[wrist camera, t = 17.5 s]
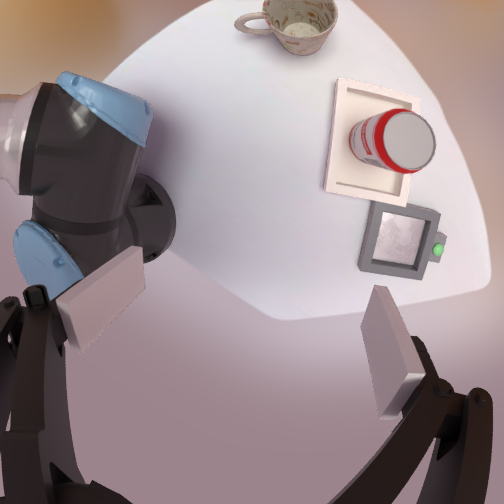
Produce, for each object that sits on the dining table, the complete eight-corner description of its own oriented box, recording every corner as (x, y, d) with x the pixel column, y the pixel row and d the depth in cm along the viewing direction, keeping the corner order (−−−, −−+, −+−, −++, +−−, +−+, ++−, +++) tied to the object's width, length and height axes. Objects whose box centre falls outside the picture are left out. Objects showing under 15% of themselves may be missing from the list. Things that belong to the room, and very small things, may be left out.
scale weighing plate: (371, 256, 40) (372, 258, 39) (381, 210, 37) (383, 211, 36) (411, 263, 39) (413, 265, 38) (423, 219, 36) (425, 220, 36)
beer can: (341, 153, 35) (367, 158, 21) (355, 113, 33) (389, 92, 18) (381, 171, 35) (428, 189, 20) (395, 131, 32) (449, 126, 18)
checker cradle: (357, 264, 41) (360, 271, 39) (372, 196, 37) (376, 199, 35) (428, 276, 39) (434, 283, 37) (446, 213, 35) (454, 217, 33)
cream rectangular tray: (323, 187, 38) (325, 191, 35) (335, 82, 32) (338, 77, 29) (397, 202, 36) (405, 207, 33) (411, 101, 31) (420, 98, 27)
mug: (333, 63, 31) (342, 39, 22) (244, 65, 33) (225, 42, 24) (327, 16, 28) (333, -16, 19) (242, 19, 30) (224, -11, 21)
